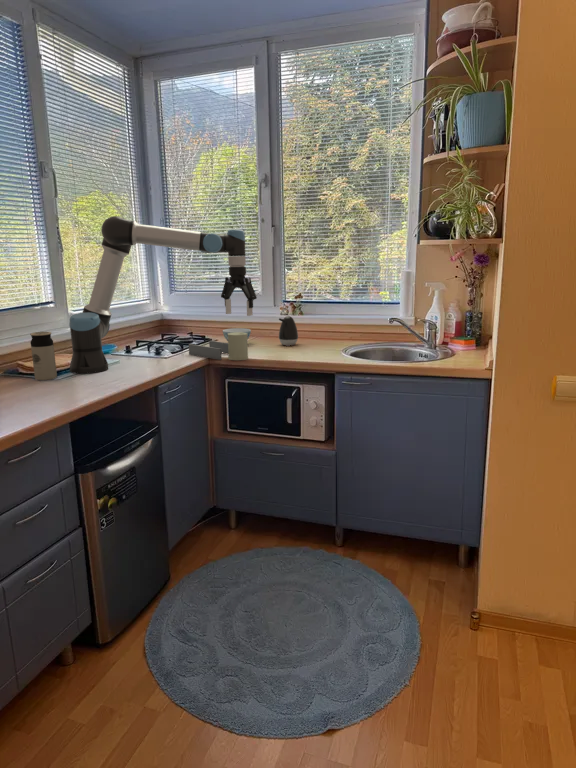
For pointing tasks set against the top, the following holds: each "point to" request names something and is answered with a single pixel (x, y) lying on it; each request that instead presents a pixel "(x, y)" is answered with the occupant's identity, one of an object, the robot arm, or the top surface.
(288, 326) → the pump dispenser
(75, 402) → the top surface
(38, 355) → the travel mug
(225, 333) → the chinaware
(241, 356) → the can
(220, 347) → the channel
